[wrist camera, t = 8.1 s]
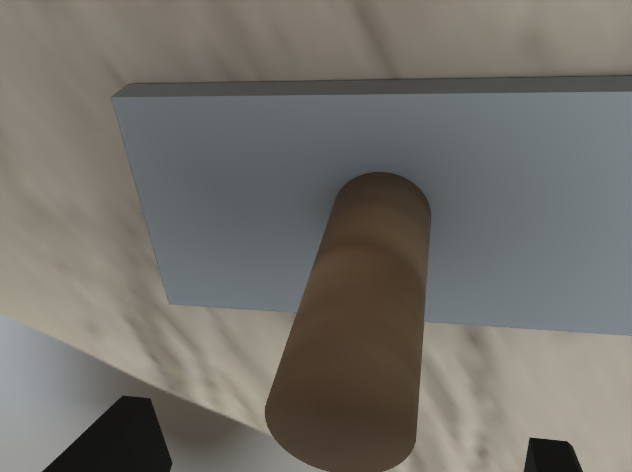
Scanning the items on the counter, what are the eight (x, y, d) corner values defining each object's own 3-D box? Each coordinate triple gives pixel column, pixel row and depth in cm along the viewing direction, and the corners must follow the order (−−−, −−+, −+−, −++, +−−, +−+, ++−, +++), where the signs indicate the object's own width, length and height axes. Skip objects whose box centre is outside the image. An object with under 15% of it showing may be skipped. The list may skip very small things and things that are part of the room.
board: (181, 284, 23) (168, 304, 22) (129, 84, 19) (110, 97, 18) (628, 311, 20) (636, 336, 19) (690, 74, 15) (705, 90, 14)
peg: (336, 254, 19) (275, 466, 13) (329, 171, 18) (254, 366, 11) (430, 257, 19) (416, 482, 12) (431, 171, 17) (415, 379, 10)
